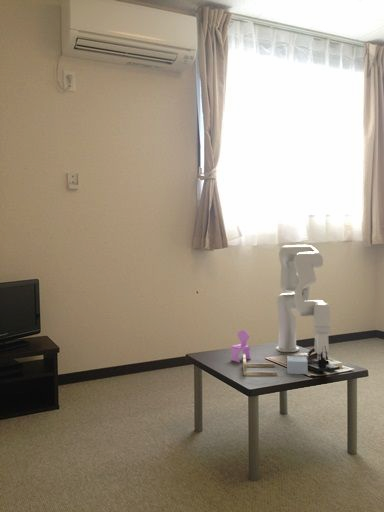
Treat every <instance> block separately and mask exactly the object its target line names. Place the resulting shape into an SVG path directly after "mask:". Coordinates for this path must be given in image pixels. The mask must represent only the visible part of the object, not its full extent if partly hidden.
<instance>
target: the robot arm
mask: <svg viewBox="0 0 384 512" xmlns="http://www.w3.org/2000/svg"><path fill="white" fill-rule="evenodd" d="M278 258H279V261H280V279H279V280H280V282H279V283H280V284H279V285H280V289H281V290H282V291H284V293H283V292H282V293H280V294H278V295H277V296H276V306H277V315H278V316H277V317H278V319H277V320H278V345H277V346H276V347H275V350H276V351H278V352H281V353H296V352H299V350H300V347H299V346H297V318H296V315H295V314H294V313H293V311H296V312H297V313H298V315H299V316H300V317H313V333H314V348H315V353H317V354H318V355H317V360H318V361H317V367H318V369H326V368H327V361H326V355H327V356H328V354H329V348H330V347H329V334H330V333H331V305H330V304H329V303H328V302H325V301H324V300H323V299H313V300H310V288H311V287H310V286H312V285H314V284H315V283H316V282H317V276H316V273H315V270H314V269H320V268H322V267H323V264H324V258H323V255H322V254H321V252H320V251H319V250H317V249H316V248H315V247H314V246H312V245H309V244H294V245H293V244H292V245H290V244H289V245H288V244H287V245H283V246H281V247H280V249H279V252H278Z"/></svg>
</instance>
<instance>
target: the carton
mask: <svg viewBox="0 0 384 512" xmlns="http://www.w3.org/2000/svg"><path fill="white" fill-rule="evenodd" d="M308 362H309V360H308V357H307V356H299V355H298V356H297V355H296V356H291V355H287V356H286V371H287V374H289V375H290V374H292V375H308V374H309V373H308V371H309V370H308V367H309V366H308Z"/></svg>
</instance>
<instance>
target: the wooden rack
mask: <svg viewBox="0 0 384 512" xmlns="http://www.w3.org/2000/svg"><path fill="white" fill-rule="evenodd" d="M255 367H256V368H258V367H259V368H274V367H275V363H274V362H272V363H271V362H270V363H268V362H262V363H260V362H257V363H256V362H247V358H246V355H245V354H243V353H242V369H243V370H242V371H243V376H244V377H245V376H257V377H258V376H261V377H263V376H270V377H271V376H273V377H275V376H278V372H277V371H247V368H255Z"/></svg>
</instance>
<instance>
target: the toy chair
mask: <svg viewBox="0 0 384 512" xmlns="http://www.w3.org/2000/svg"><path fill="white" fill-rule="evenodd" d="M237 338H238V340H239V341H240V343H239V344H235V345H231V348H230V352H231V359H230V360H231V361H233V362H237V363H241V361H240V358H239V353H240V351H241V350H242V355H243V354H245V355H246V360H251V361H252V357H251V355H250V346H249V345H247V341H248V340H249V338H250V334H249V332H248V331H247V330H245V329H243V330H239V331H238V332H237Z"/></svg>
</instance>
